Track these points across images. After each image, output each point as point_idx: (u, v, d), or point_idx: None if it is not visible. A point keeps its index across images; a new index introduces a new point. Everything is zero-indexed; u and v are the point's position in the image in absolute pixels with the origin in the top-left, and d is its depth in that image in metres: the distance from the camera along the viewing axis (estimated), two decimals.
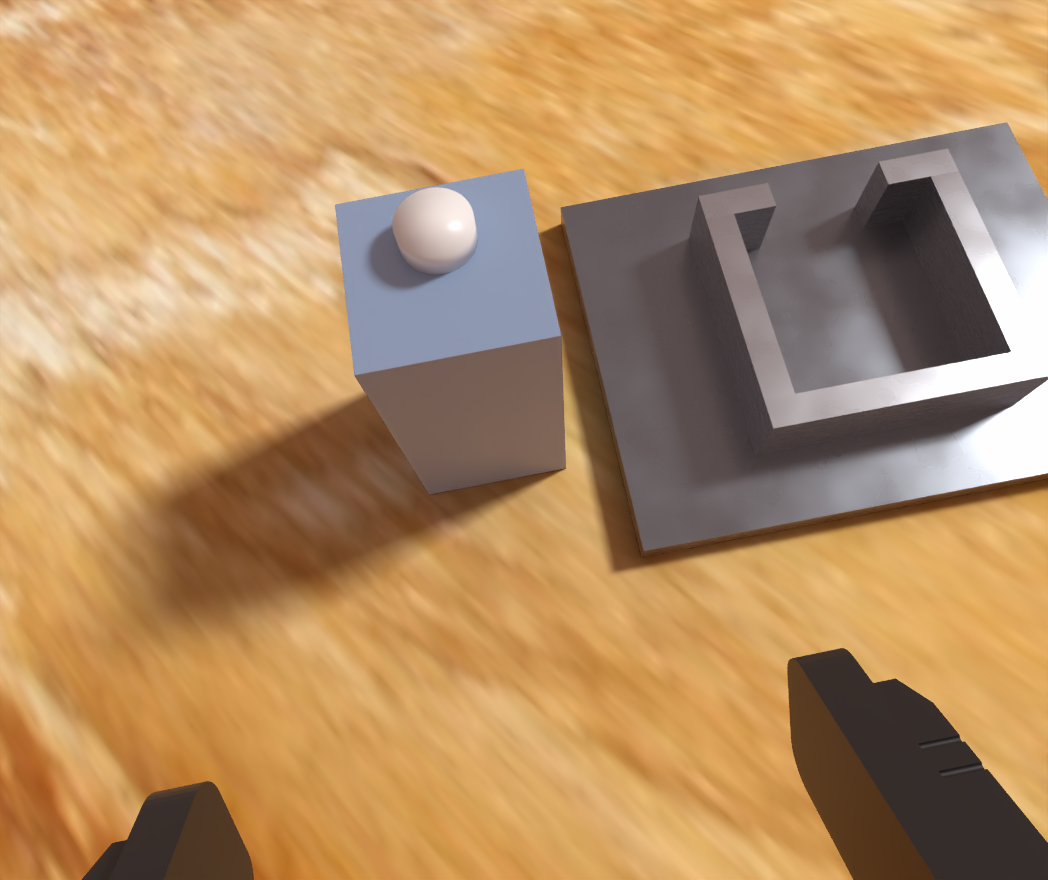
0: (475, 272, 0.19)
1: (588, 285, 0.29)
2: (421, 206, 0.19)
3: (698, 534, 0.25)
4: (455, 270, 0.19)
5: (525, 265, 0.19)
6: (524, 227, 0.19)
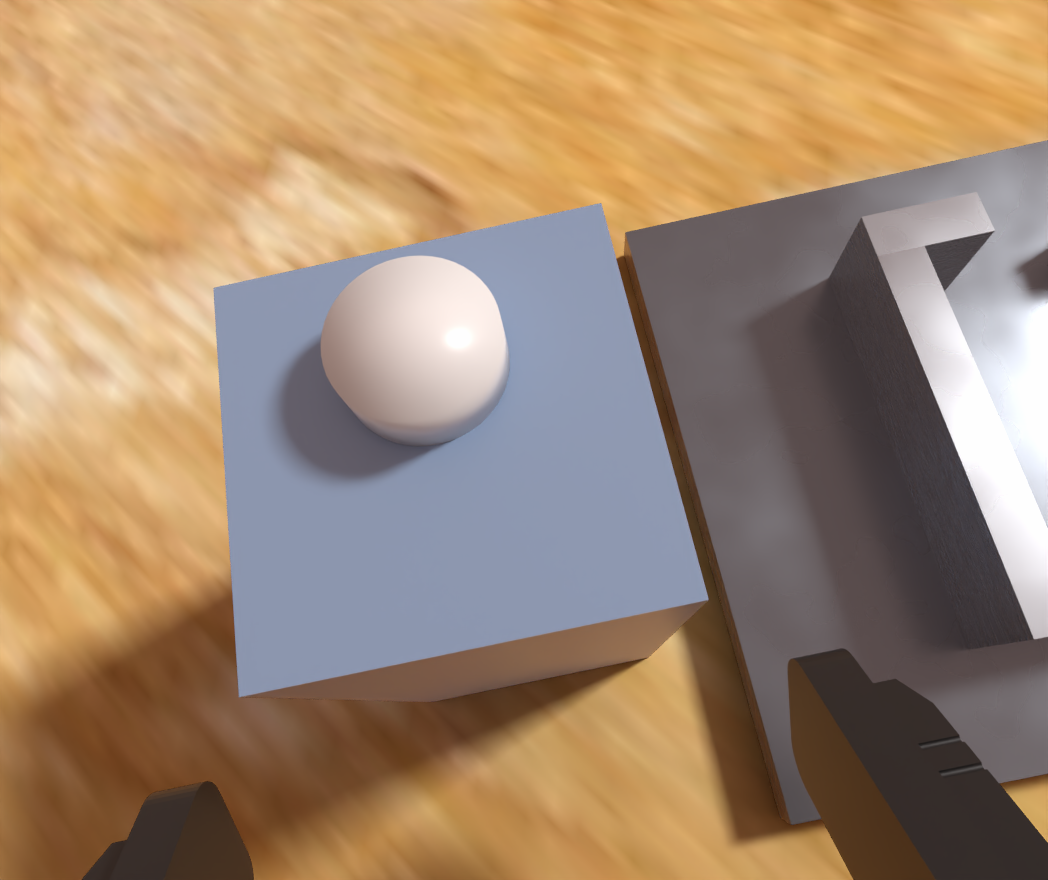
0: (506, 441, 0.09)
1: (674, 357, 0.19)
2: (385, 300, 0.09)
3: None
4: (462, 437, 0.09)
5: (615, 424, 0.09)
6: (610, 334, 0.09)
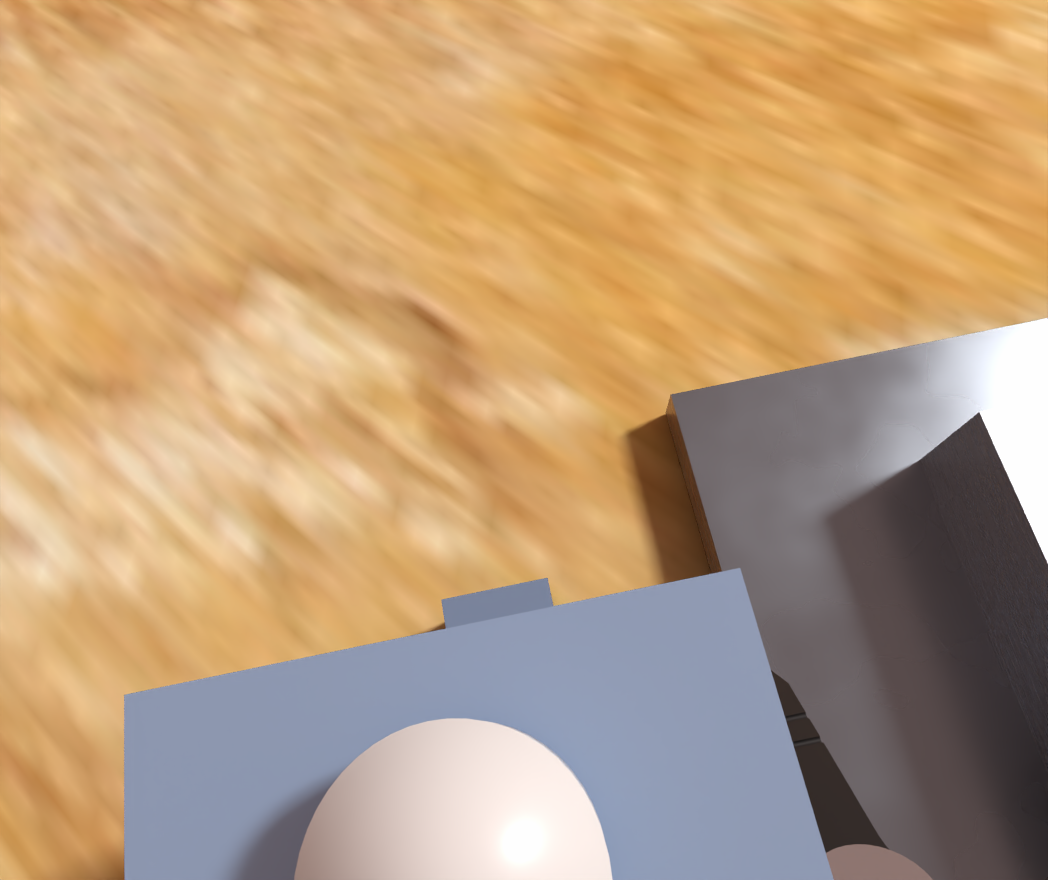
0: None
1: (735, 559, 0.15)
2: (405, 810, 0.05)
3: None
4: None
5: None
6: (773, 820, 0.06)
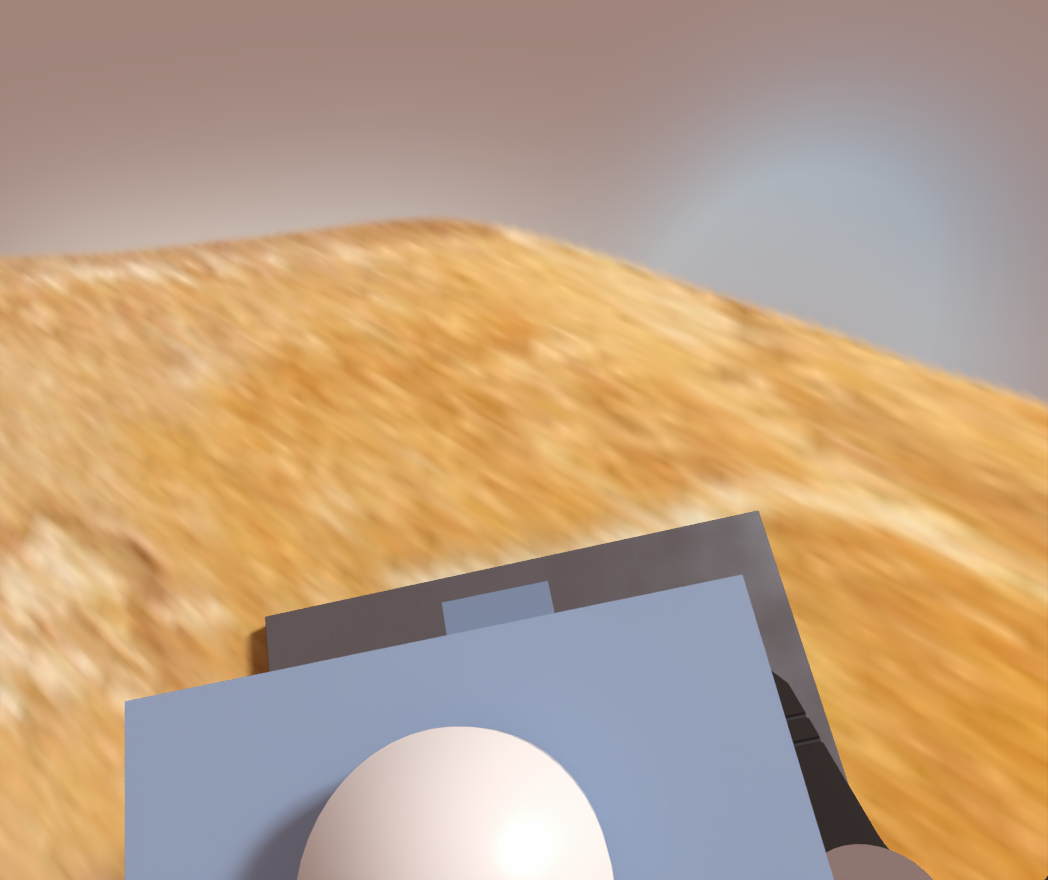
0: None
1: None
2: (407, 819, 0.05)
3: None
4: None
5: None
6: (774, 829, 0.05)
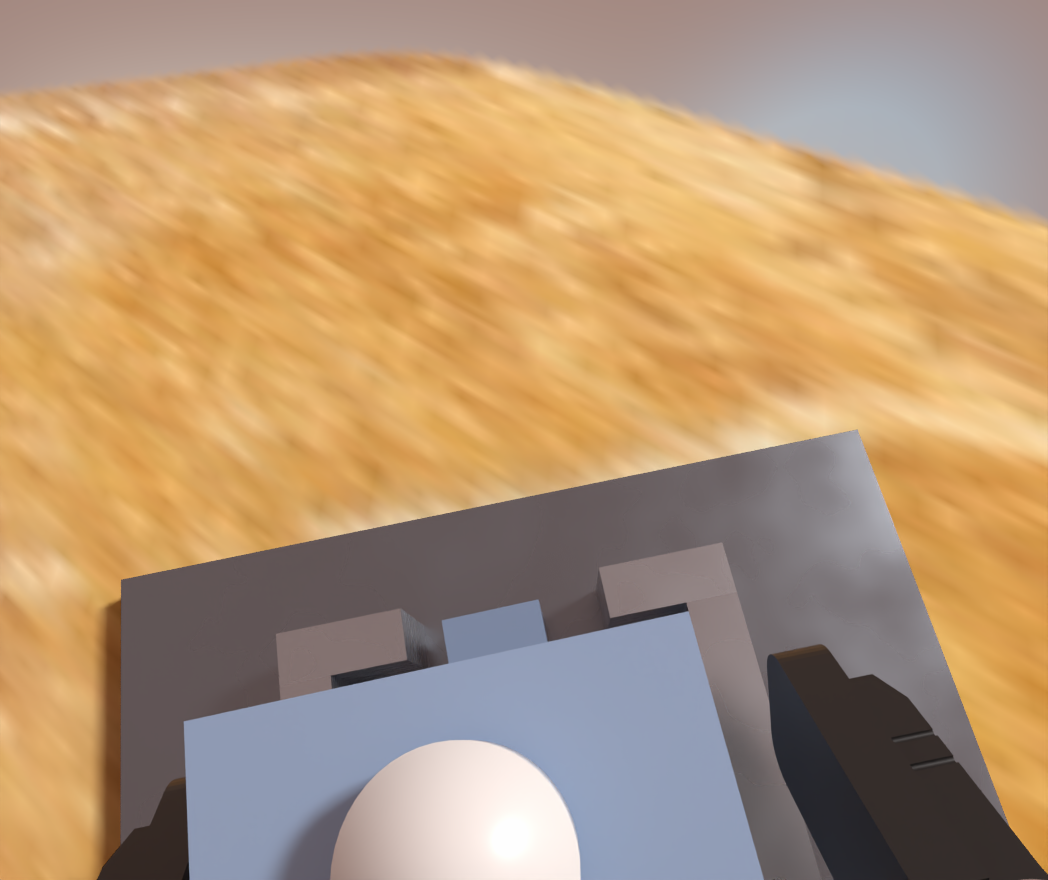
0: None
1: (135, 741, 0.17)
2: (417, 813, 0.06)
3: None
4: None
5: None
6: (712, 819, 0.07)
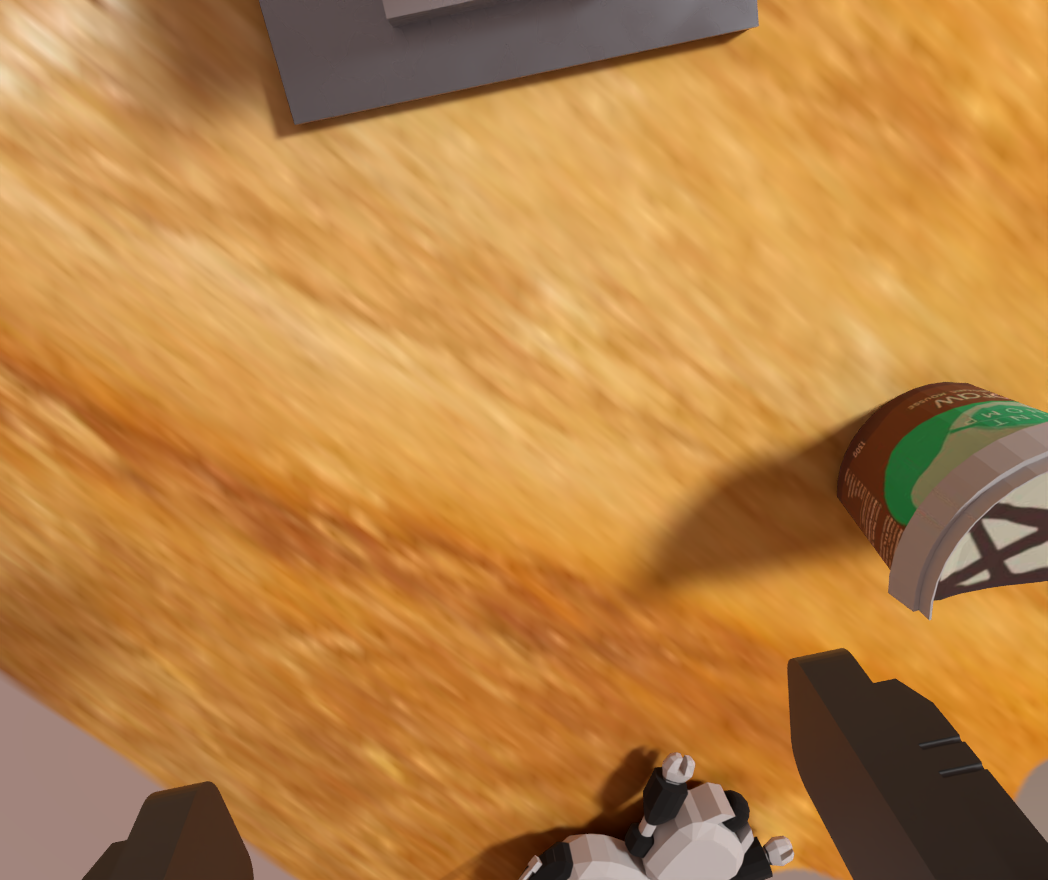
0: None
1: None
2: None
3: (341, 108, 0.29)
4: None
5: None
6: None
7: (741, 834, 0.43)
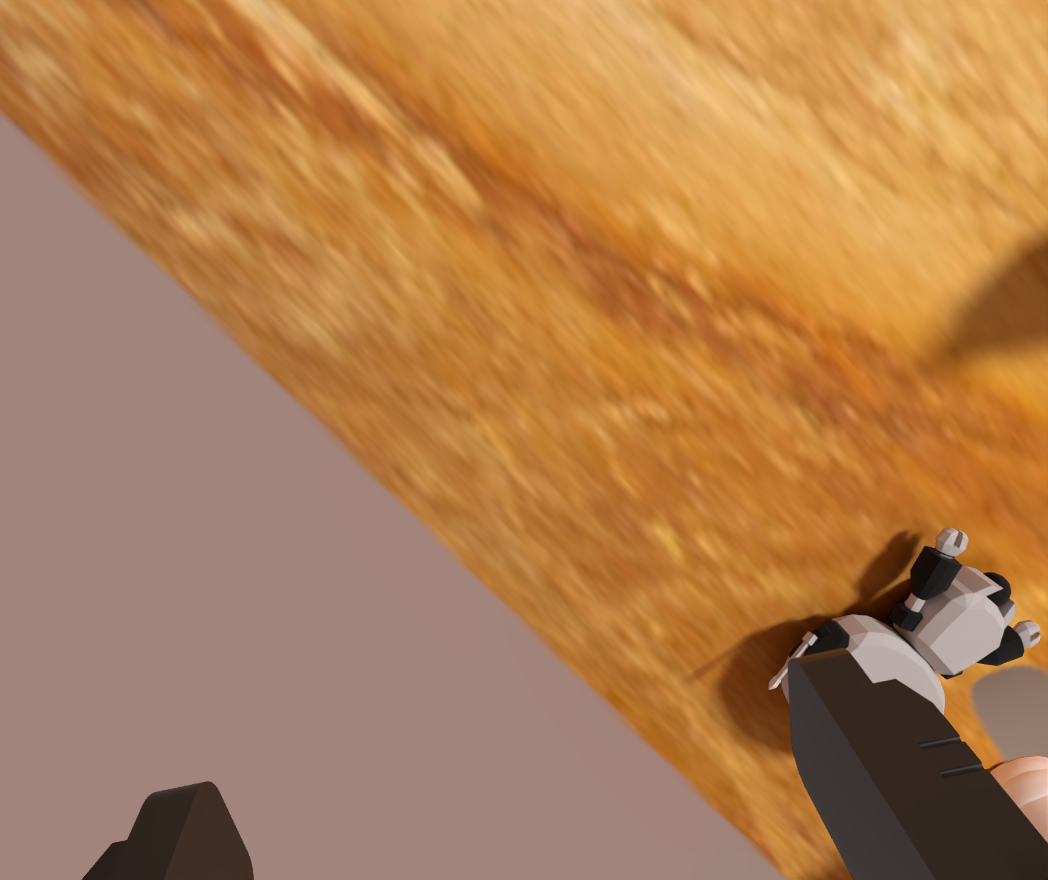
0: None
1: None
2: None
3: None
4: None
5: None
6: None
7: (1002, 610, 0.46)
